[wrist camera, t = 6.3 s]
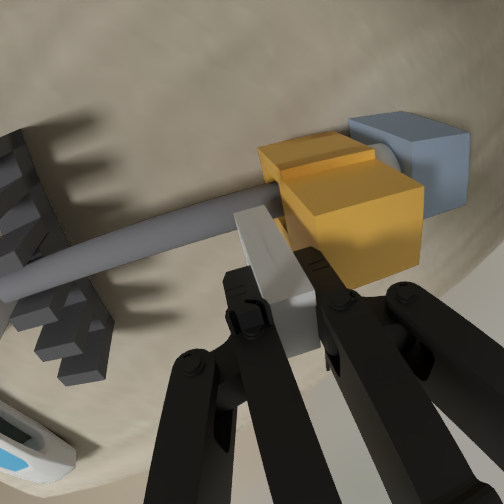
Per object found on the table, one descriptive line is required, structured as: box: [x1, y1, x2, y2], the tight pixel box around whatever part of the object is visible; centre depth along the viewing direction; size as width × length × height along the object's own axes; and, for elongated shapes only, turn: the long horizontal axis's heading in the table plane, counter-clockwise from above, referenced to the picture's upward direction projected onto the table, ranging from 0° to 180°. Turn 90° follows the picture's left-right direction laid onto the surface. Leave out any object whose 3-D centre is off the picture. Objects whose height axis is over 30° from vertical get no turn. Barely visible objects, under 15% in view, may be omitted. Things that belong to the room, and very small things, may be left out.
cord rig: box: [0, 111, 470, 386], centre depth 18 cm, size 32×18×8 cm, turn 103°
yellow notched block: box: [257, 131, 424, 290], centre depth 16 cm, size 5×5×9 cm
